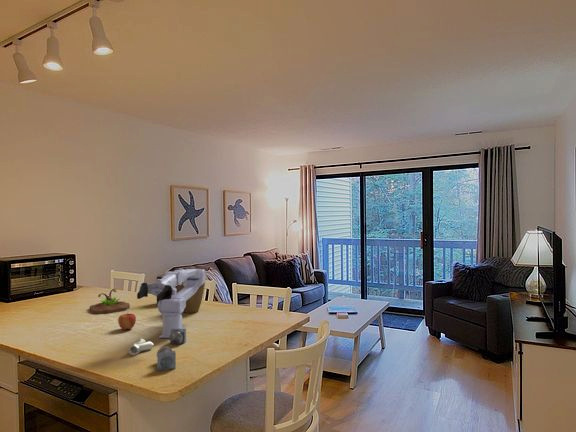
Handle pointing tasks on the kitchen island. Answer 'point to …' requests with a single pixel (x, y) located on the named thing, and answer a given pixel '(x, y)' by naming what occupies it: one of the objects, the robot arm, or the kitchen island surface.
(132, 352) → the pipe fitting
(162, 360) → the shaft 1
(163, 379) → the kitchen island surface
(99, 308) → the plant
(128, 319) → the apple
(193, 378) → the kitchen island surface
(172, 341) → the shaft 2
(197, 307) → the plant pot
